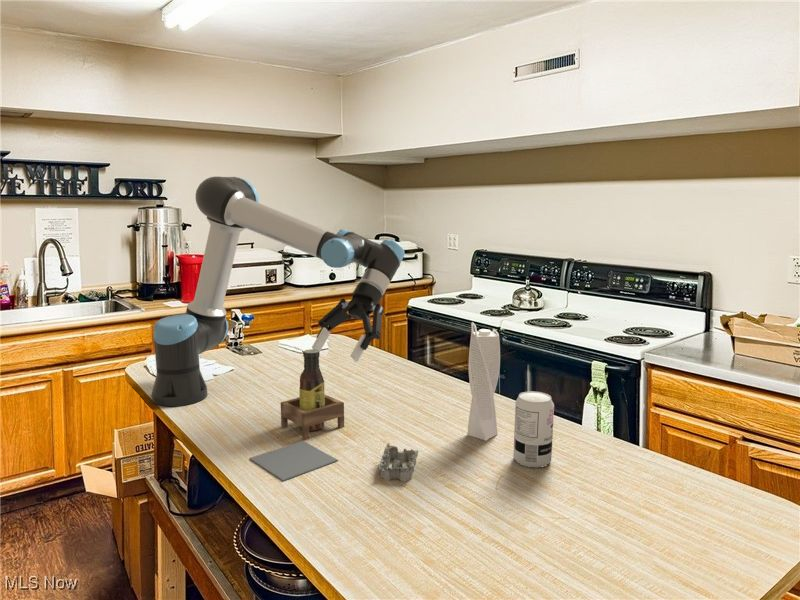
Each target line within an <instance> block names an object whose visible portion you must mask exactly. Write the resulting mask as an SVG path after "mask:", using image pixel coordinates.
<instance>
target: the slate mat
mask: <svg viewBox="0 0 800 600" xmlns="http://www.w3.org/2000/svg"><path fill="white" fill-rule="evenodd" d="M249 460H250V461H252V462H253V463H255V464H257V465H258V466H259V467H261V468H262V469H264V470H265V471H267V472H269V474H272V475H273V476H274V477H276V478H277V479H279V480H280V481H282V482H285V481H288V480H291V479H294V478H296V477H299V476H302V475H304V474H307V473H309V472H312V471H315V470H318V469H320V468H322V467H326V466H329V465H331V464H334V463H336V462H339V460H338V459H337V458H336V457H333V456H332V455H330V454H328V453H326V452H325V451H322V450H321V449H319V448H317V447H315V446H314V445H312V444H310V443H308V442H306V441H305V440H300V441H297V442H294V443H291V444H288V445H286V446H285V445H284V446H282V447H279V448H275V449H273V450H270V451H267V452H263V453H261V454H258V455H257V454H256V455H255V456H252V457H249Z"/></svg>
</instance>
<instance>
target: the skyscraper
mask: <svg viewBox="0 0 800 600" xmlns="http://www.w3.org/2000/svg"><path fill="white" fill-rule="evenodd" d="M470 326H471V330H470V331H471V333H470V341H469V350H468V352H469V353H468V380H469V387H470V393H471V394H470V395H471V401H470V409H469V417H468V425H467V432H466V435H467V436H469V437H473V438H476V437H477V439H479V438H480V440H482V439H483V441H485V442H487V441H488V440H489V438H490V439H491V438H493V437H494V436H498V425H497V413H496V405H495V403H496V402H495V398H494V395H495V393H496V388H497V385H498V381H499V376H500V370H501V369H500V368H501V343H500V335H499V332H498V331H497V330H496V329H495V328H493V329H492V330H491V329H486V328H481V329H478V330H477V325H476V324H475V323H474V322H473V321H472V322H471V323H470Z"/></svg>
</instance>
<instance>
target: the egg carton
mask: <svg viewBox="0 0 800 600" xmlns="http://www.w3.org/2000/svg"><path fill="white" fill-rule="evenodd" d="M418 456H419V450H414V449H412V448H410V450H409V449H406V448H404V449H403V451H402V450H399V448H398V446H396V445H390V442H388V443H387V444H386V445H385V448H384V451H383V454H382V455H381V459H380V460H379V464H378V465H379V467H378V470H379V471H380V477H379V478H382V479H384V481H391V480H392V479H398V480H399V481H400V482H406V481H408V480H413V473H414V472H415V466H416V465H417V458H418ZM391 460H392V463H390V461H391ZM406 461H407V463H406V464H407V466H406V467H405V464H404V463H405V462H406ZM390 464H391V467H390Z"/></svg>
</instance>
